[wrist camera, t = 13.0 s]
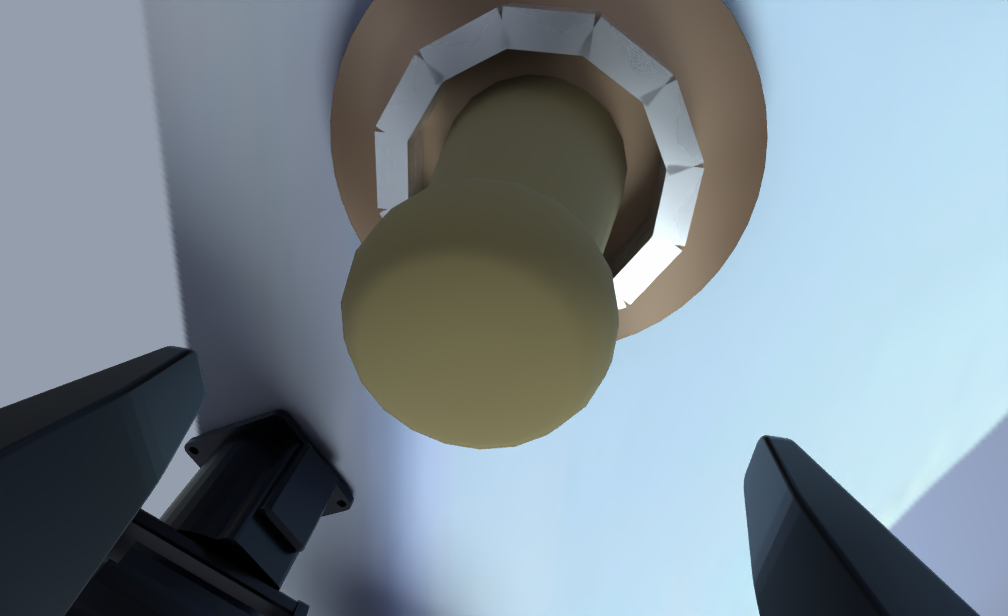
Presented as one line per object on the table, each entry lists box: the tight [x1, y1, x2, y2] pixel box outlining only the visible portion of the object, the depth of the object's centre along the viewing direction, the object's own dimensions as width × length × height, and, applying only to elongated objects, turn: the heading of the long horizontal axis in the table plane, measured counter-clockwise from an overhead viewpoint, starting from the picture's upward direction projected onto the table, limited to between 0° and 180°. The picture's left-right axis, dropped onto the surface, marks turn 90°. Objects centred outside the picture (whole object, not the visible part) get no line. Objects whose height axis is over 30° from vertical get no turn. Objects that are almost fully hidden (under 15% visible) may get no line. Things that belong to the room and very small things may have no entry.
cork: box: [341, 74, 627, 449], centre depth 15 cm, size 6×6×11 cm
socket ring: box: [375, 3, 704, 309], centre depth 18 cm, size 10×10×2 cm
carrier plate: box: [330, 0, 767, 341], centre depth 20 cm, size 14×14×1 cm
